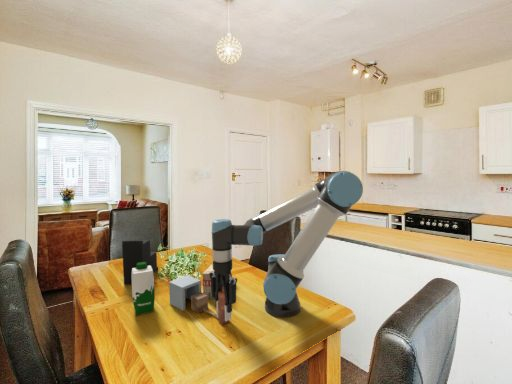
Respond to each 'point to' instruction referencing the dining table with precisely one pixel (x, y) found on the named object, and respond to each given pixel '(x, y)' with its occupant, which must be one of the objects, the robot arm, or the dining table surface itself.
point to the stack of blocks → (208, 282)
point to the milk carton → (143, 288)
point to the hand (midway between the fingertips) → (224, 317)
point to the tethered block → (201, 304)
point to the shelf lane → (183, 290)
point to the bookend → (137, 257)
